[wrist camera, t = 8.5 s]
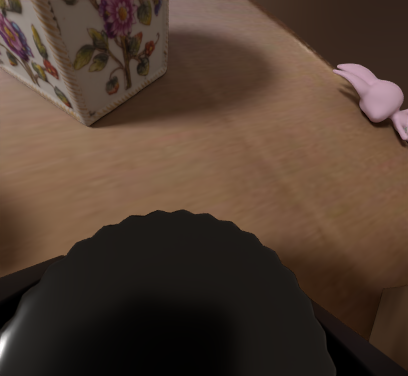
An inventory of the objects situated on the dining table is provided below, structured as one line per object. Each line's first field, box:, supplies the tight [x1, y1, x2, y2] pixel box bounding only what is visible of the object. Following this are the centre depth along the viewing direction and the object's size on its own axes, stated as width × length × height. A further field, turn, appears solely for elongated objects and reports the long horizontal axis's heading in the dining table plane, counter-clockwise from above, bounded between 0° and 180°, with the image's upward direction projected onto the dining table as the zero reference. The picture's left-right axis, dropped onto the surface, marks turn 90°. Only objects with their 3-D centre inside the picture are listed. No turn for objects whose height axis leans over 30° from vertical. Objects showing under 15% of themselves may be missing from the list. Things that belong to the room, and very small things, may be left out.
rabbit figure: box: [333, 64, 408, 142], centre depth 25 cm, size 6×6×15 cm
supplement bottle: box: [0, 210, 336, 376], centre depth 8 cm, size 7×7×12 cm
